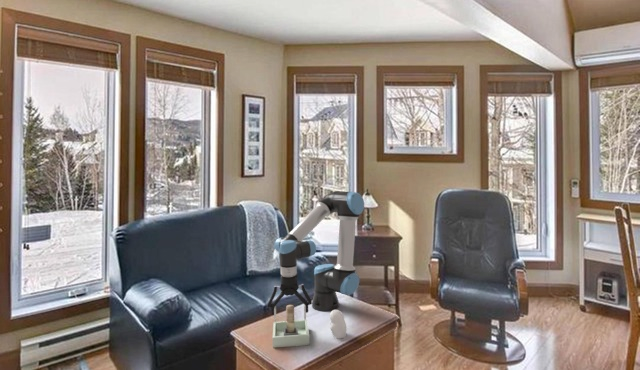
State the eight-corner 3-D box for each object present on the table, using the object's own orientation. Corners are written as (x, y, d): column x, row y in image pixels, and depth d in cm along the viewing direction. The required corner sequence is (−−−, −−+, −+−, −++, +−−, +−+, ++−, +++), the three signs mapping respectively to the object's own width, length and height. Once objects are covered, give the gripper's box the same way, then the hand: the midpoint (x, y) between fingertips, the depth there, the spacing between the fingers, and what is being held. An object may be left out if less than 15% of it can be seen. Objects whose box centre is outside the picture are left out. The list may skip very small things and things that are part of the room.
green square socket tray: (273, 331, 175) (273, 321, 175) (307, 328, 177) (306, 319, 177) (272, 347, 160) (272, 337, 159) (309, 344, 161) (309, 335, 161)
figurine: (330, 331, 173) (329, 307, 172) (346, 331, 173) (345, 306, 172) (330, 339, 166) (329, 313, 165) (346, 338, 166) (346, 313, 165)
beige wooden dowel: (286, 334, 170) (286, 305, 169) (294, 333, 170) (293, 304, 169) (286, 338, 166) (286, 308, 165) (294, 337, 167) (294, 307, 166)
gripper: (260, 278, 162) (262, 325, 163) (316, 275, 164) (318, 321, 165) (261, 273, 169) (263, 318, 170) (315, 270, 171) (316, 315, 173)
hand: (290, 320), depth 168 cm, fingers open, 13 cm apart
